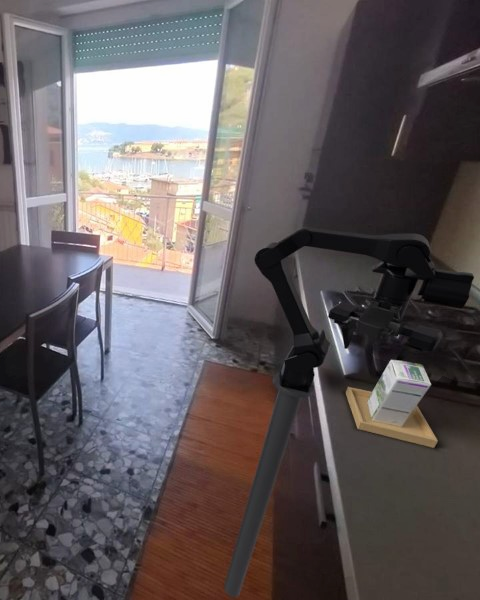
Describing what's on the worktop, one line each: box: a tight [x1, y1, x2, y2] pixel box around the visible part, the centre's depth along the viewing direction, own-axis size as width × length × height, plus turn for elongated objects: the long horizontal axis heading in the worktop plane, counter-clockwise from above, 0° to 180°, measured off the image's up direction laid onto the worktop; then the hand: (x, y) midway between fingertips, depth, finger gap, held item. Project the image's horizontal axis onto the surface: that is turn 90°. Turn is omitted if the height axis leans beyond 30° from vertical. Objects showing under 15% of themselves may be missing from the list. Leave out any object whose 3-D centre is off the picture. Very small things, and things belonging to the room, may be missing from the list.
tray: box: [345, 386, 439, 449], centre depth 81 cm, size 13×13×2 cm
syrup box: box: [367, 359, 432, 427], centre depth 77 cm, size 6×6×14 cm
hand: (368, 357), depth 81 cm, fingers open, 9 cm apart
